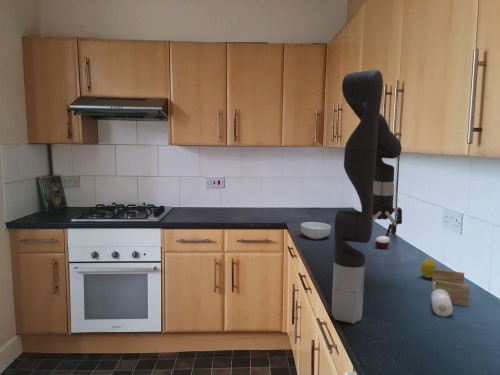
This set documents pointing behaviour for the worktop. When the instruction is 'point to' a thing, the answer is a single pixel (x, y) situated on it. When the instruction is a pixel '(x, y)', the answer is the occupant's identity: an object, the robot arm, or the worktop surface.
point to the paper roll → (441, 302)
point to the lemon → (428, 268)
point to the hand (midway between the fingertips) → (380, 234)
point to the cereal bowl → (315, 229)
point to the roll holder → (451, 285)
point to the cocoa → (383, 240)
